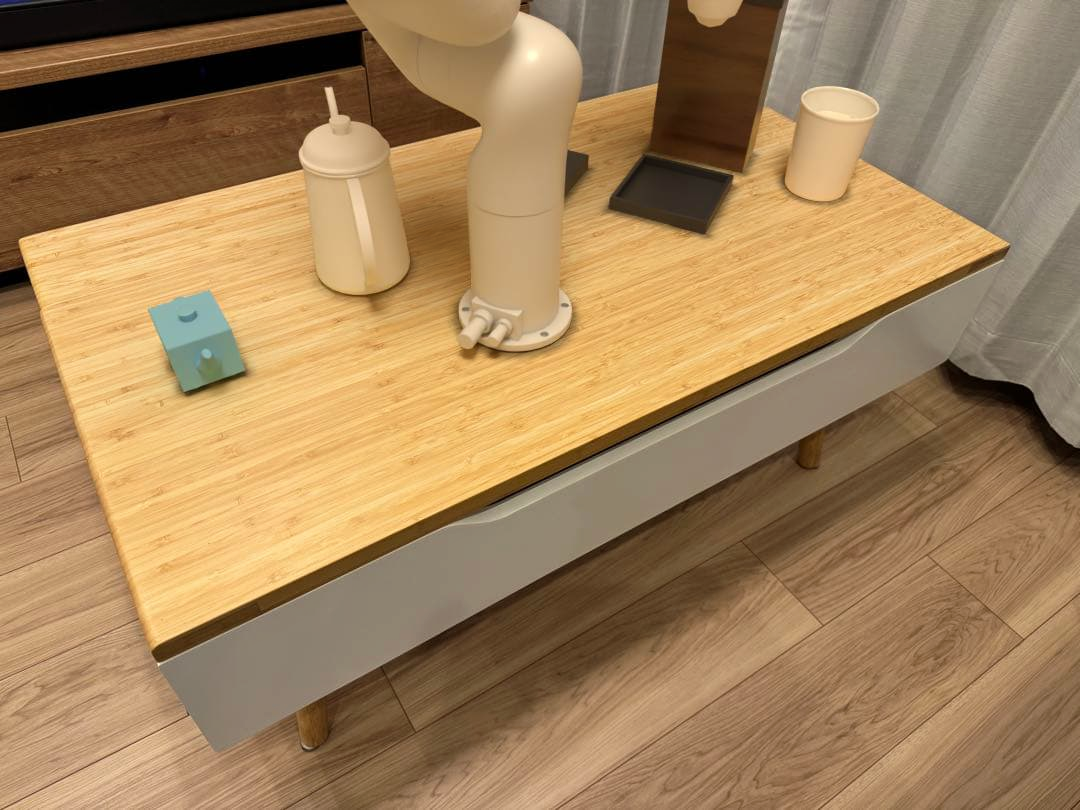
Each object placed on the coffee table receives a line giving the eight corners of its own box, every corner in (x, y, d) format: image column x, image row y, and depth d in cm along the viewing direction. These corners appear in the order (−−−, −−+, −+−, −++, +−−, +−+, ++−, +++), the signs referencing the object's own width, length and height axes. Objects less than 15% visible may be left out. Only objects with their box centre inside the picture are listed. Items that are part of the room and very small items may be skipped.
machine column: (743, 174, 110) (784, -5, 93) (647, 151, 114) (670, -25, 97) (753, 154, 114) (795, -21, 98) (660, 133, 118) (685, -39, 101)
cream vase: (676, 121, 90) (709, -85, 75) (658, 94, 95) (684, -105, 80) (735, 116, 91) (778, -87, 76) (714, 90, 96) (750, -106, 81)
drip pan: (705, 234, 99) (707, 222, 98) (608, 209, 103) (609, 197, 102) (731, 186, 108) (734, 174, 106) (641, 164, 111) (642, 153, 110)
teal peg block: (258, 397, 77) (239, 339, 72) (196, 420, 75) (171, 362, 69) (222, 329, 84) (202, 272, 79) (164, 348, 82) (139, 291, 76)
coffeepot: (391, 207, 102) (372, 61, 88) (430, 325, 85) (415, 168, 72) (306, 219, 99) (274, 71, 86) (330, 343, 83) (294, 184, 69)
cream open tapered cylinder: (807, 211, 104) (834, 125, 95) (764, 176, 110) (785, 92, 101) (865, 196, 107) (896, 112, 98) (820, 163, 113) (845, 81, 104)
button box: (553, 209, 102) (555, 182, 100) (486, 191, 105) (485, 164, 102) (588, 169, 110) (590, 142, 107) (524, 153, 113) (524, 127, 110)
